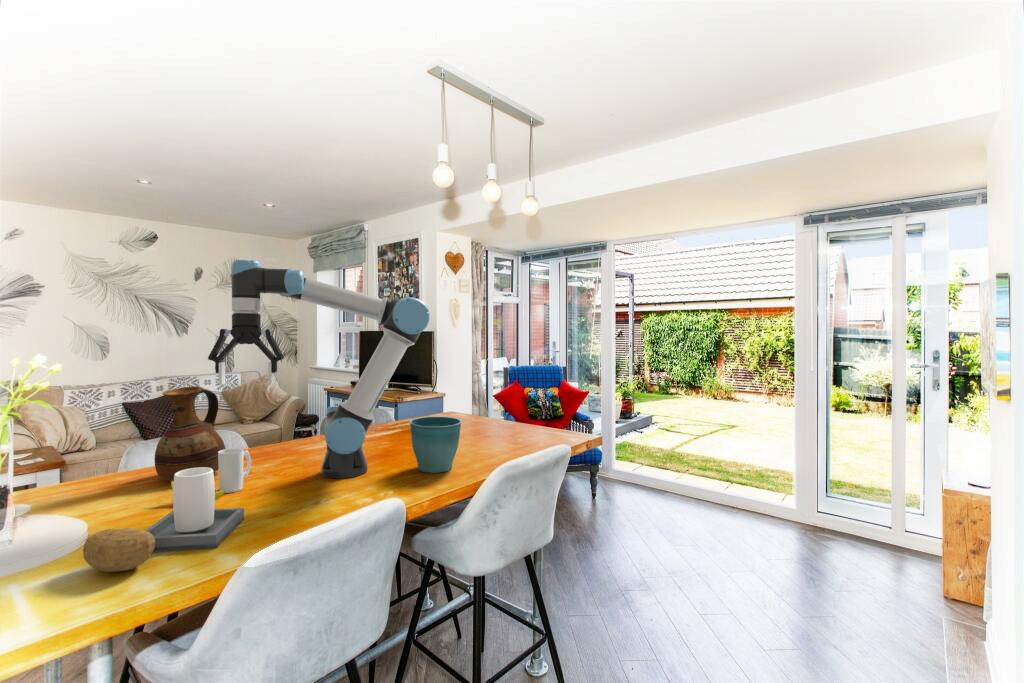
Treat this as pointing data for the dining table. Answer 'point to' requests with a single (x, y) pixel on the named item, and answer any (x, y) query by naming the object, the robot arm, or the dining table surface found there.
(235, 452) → the mug
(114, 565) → the potato
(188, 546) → the tray
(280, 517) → the dining table surface
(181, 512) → the cup
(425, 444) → the flower pot
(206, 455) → the ceramic pitcher
